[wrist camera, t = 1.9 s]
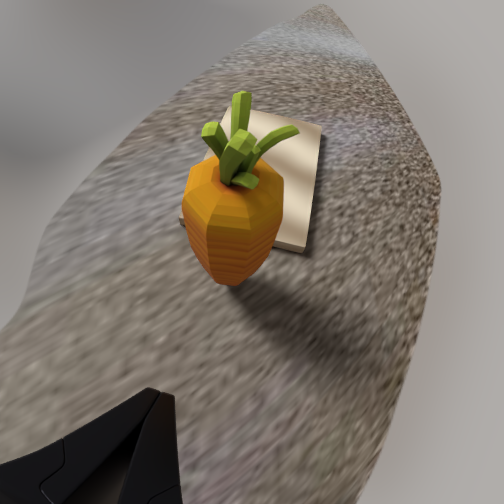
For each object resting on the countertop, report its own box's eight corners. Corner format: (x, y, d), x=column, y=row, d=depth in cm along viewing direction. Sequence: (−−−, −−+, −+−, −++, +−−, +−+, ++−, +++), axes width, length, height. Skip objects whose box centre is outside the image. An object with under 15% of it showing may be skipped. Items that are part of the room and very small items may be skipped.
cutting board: (302, 253, 25) (305, 247, 24) (180, 224, 25) (178, 217, 24) (319, 132, 32) (321, 126, 31) (228, 112, 32) (229, 105, 31)
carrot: (216, 239, 25) (217, 64, 12) (273, 267, 24) (329, 102, 11) (182, 290, 23) (139, 128, 9) (242, 323, 22) (276, 184, 9)
